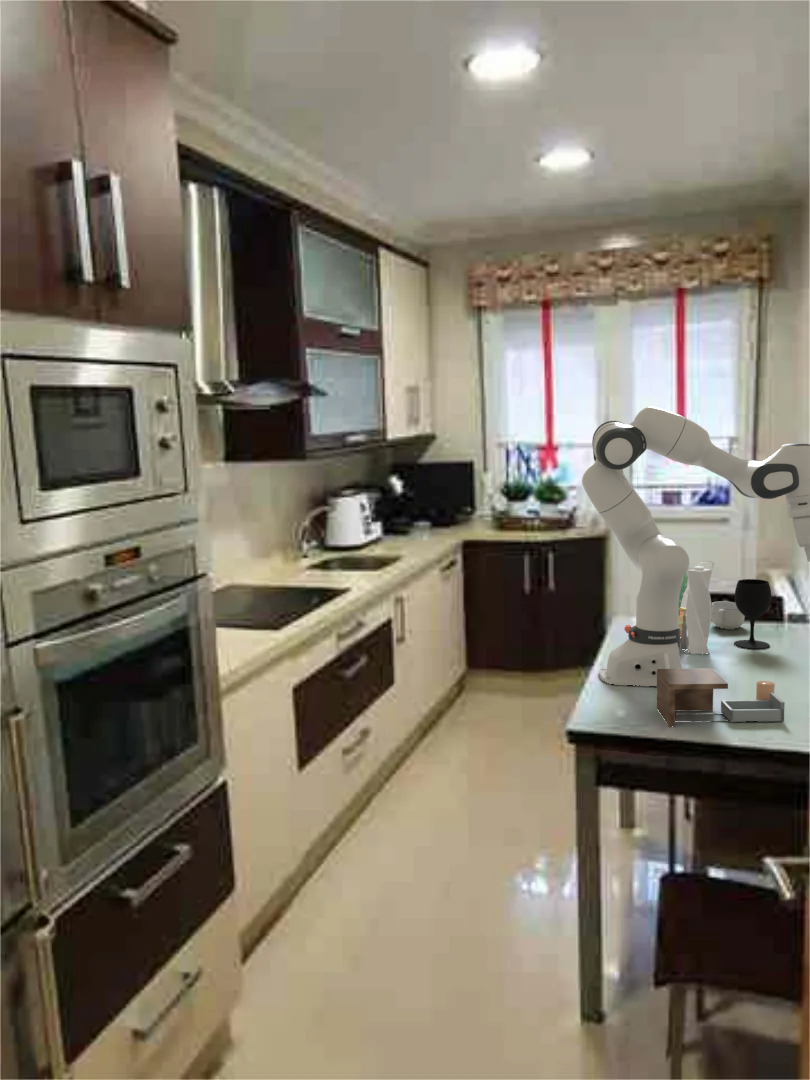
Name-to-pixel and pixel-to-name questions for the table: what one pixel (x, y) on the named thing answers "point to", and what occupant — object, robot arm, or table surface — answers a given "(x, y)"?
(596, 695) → the table surface
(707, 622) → the skyscraper
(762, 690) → the peach cylinder
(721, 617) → the teacup
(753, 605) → the wine glass
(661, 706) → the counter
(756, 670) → the table surface
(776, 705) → the tray
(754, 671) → the table surface
